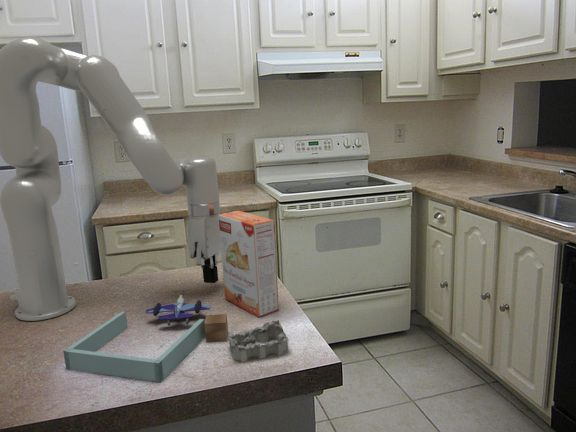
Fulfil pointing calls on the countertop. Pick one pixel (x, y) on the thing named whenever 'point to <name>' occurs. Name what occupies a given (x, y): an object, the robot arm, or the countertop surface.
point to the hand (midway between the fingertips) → (211, 281)
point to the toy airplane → (177, 309)
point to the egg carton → (260, 335)
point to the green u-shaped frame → (88, 360)
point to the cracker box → (249, 261)
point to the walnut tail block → (216, 328)
